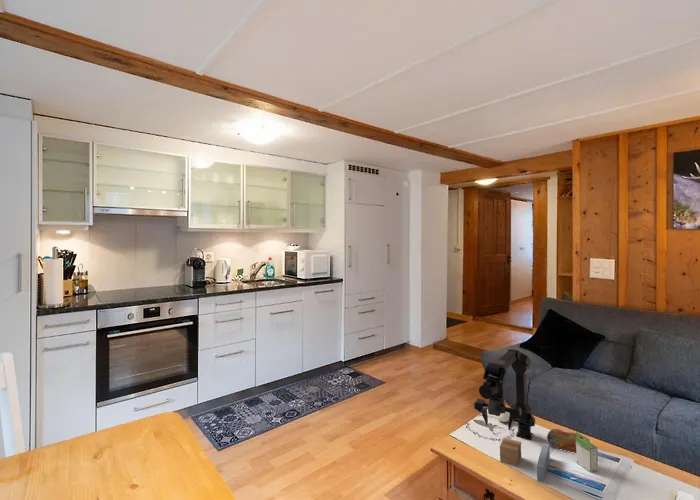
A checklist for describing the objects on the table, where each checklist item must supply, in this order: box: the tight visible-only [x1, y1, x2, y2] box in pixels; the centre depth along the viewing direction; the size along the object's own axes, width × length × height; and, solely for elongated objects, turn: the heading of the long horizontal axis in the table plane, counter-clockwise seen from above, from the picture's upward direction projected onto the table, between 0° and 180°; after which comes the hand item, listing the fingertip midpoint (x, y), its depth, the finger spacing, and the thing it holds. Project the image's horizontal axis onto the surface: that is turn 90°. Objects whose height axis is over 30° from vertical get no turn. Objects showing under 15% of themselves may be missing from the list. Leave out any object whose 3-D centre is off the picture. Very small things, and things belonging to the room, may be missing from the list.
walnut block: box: [499, 437, 522, 468], centre depth 157 cm, size 8×7×7 cm
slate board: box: [536, 442, 551, 484], centre depth 150 cm, size 20×2×6 cm, turn 145°
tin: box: [546, 428, 584, 454], centre depth 163 cm, size 15×3×8 cm, turn 53°
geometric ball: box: [494, 412, 510, 423], centre depth 192 cm, size 8×8×8 cm
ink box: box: [575, 431, 599, 472], centre depth 151 cm, size 7×4×13 cm, turn 12°
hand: (497, 427), depth 159 cm, fingers open, 9 cm apart
